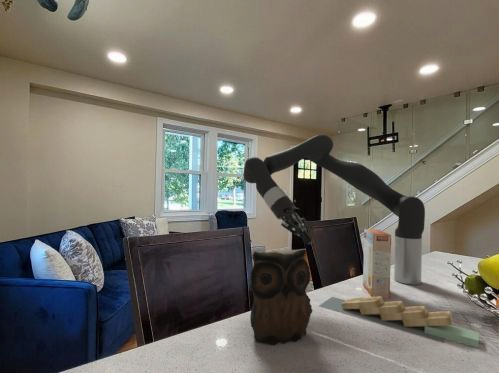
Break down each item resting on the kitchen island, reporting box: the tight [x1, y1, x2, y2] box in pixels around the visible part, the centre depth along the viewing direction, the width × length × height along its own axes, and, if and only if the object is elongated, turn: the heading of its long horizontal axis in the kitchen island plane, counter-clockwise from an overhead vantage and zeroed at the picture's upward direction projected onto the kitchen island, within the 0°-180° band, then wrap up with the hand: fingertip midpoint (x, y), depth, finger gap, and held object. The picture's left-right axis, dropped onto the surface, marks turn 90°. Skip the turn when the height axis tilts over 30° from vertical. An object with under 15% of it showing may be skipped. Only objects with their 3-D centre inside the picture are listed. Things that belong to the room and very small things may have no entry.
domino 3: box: [380, 305, 428, 321], centre depth 72 cm, size 5×2×10 cm
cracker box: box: [362, 228, 392, 300], centre depth 96 cm, size 14×6×21 cm, turn 168°
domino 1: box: [341, 296, 384, 309], centre depth 79 cm, size 5×2×10 cm
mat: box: [318, 296, 445, 343], centre depth 76 cm, size 10×30×1 cm, turn 51°
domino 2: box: [360, 300, 405, 315], centre depth 75 cm, size 5×2×10 cm
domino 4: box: [402, 310, 453, 327], centre depth 69 cm, size 5×2×10 cm
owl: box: [249, 248, 313, 346], centre depth 65 cm, size 13×13×20 cm
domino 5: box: [425, 324, 480, 349], centre depth 66 cm, size 5×2×10 cm
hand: (310, 242), depth 89 cm, fingers closed
